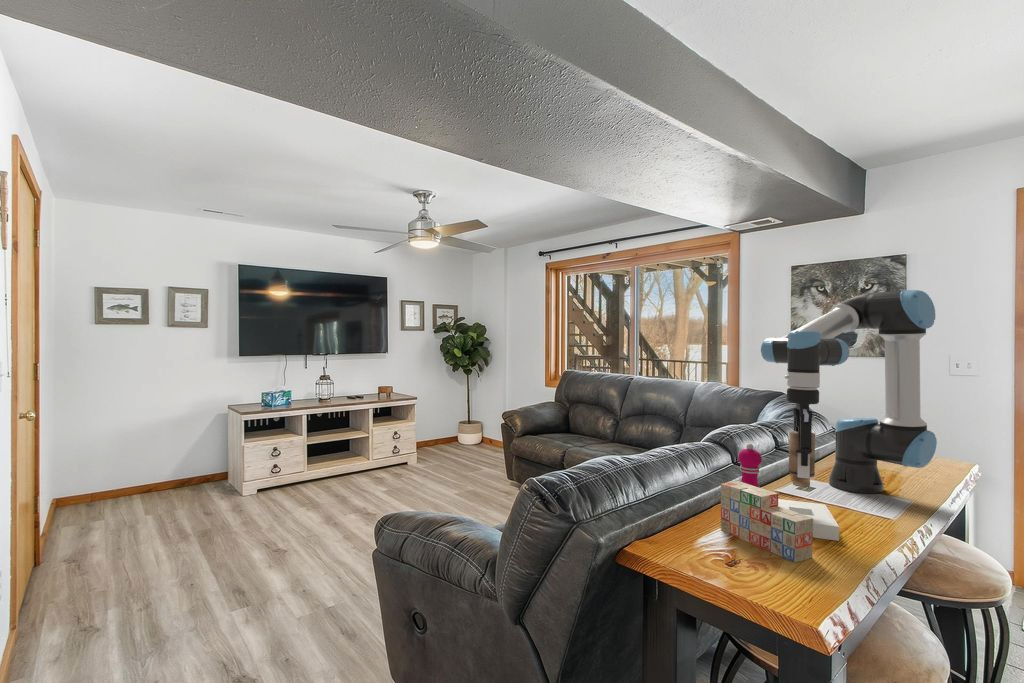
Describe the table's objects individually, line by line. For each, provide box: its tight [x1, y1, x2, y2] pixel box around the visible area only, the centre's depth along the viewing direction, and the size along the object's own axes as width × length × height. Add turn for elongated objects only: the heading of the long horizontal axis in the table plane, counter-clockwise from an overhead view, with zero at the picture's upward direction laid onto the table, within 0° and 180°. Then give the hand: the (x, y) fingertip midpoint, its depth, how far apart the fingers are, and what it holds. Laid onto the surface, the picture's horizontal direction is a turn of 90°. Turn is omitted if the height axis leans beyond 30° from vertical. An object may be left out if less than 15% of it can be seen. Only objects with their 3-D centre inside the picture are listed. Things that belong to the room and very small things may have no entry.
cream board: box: [778, 498, 840, 542], centre depth 136 cm, size 14×18×4 cm
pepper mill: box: [737, 443, 762, 488], centre depth 143 cm, size 7×7×20 cm
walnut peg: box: [787, 430, 816, 488], centre depth 136 cm, size 6×6×14 cm
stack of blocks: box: [720, 480, 814, 563], centre depth 124 cm, size 21×6×12 cm, turn 24°
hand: (801, 474), depth 136 cm, fingers closed on walnut peg, 6 cm apart
